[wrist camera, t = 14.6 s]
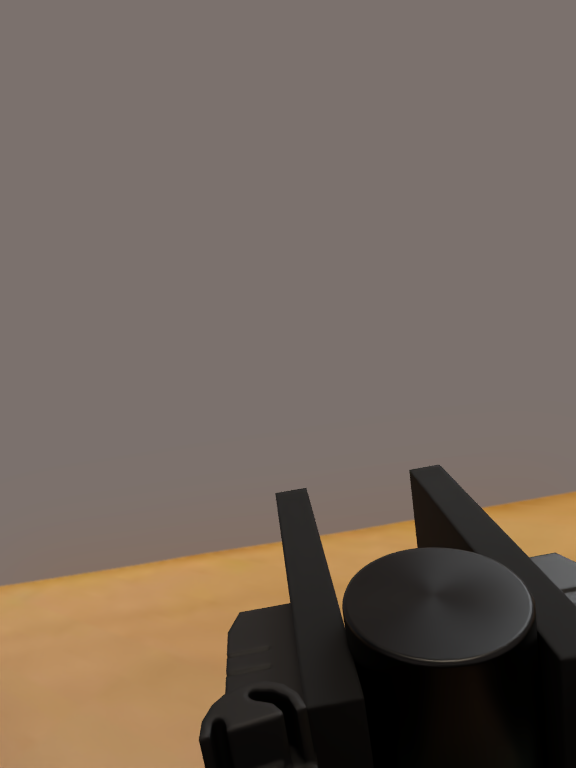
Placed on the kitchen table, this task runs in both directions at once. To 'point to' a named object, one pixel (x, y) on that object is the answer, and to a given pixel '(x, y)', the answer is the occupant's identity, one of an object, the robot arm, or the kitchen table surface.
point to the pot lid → (446, 660)
